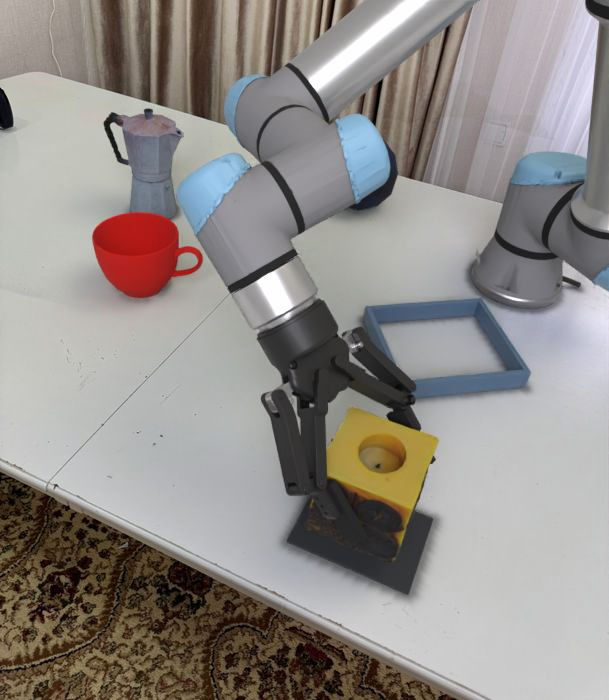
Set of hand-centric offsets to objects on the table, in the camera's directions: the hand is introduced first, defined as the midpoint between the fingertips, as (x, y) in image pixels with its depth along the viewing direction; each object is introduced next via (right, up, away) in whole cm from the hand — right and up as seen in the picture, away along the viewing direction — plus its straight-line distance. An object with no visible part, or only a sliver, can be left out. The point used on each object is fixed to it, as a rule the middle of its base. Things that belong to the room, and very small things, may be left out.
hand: (393, 498), depth 63 cm
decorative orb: (+2, +45, +64) cm, 79 cm away
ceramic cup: (-34, +25, +38) cm, 57 cm away
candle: (-3, -3, +5) cm, 6 cm away
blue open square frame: (+12, +15, +31) cm, 36 cm away
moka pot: (-39, +42, +57) cm, 80 cm away
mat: (-3, -5, +7) cm, 9 cm away
